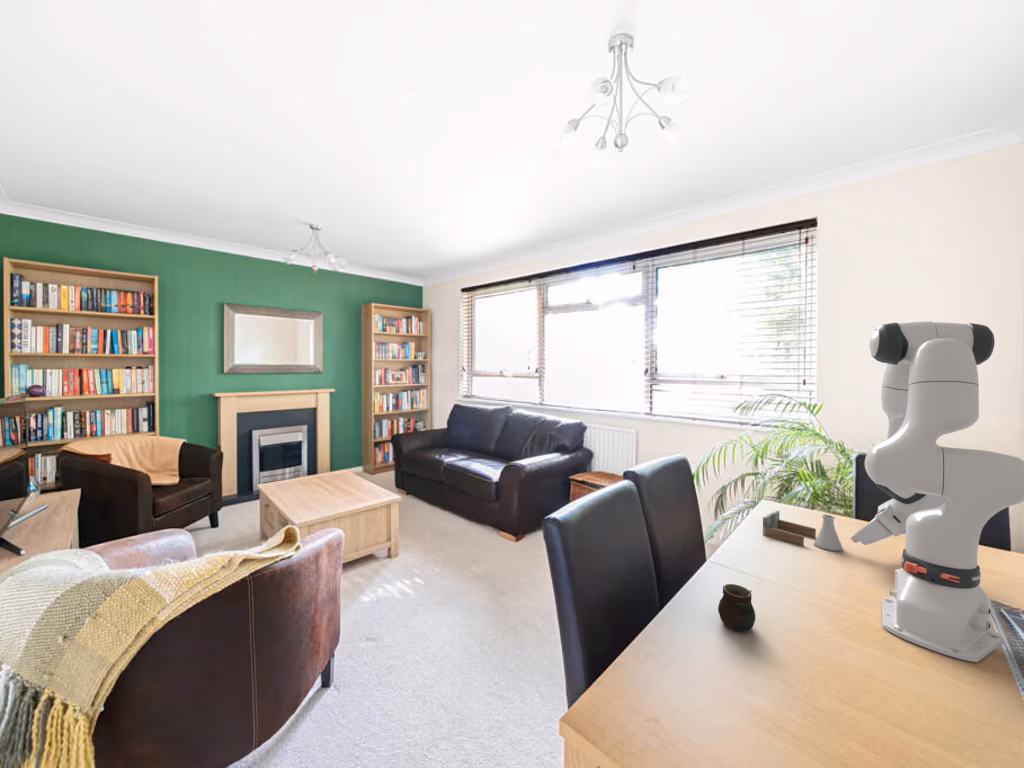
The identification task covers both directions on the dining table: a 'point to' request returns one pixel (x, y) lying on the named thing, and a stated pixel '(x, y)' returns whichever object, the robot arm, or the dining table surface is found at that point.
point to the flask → (828, 535)
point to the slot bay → (773, 523)
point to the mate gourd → (736, 608)
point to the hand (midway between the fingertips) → (853, 539)
